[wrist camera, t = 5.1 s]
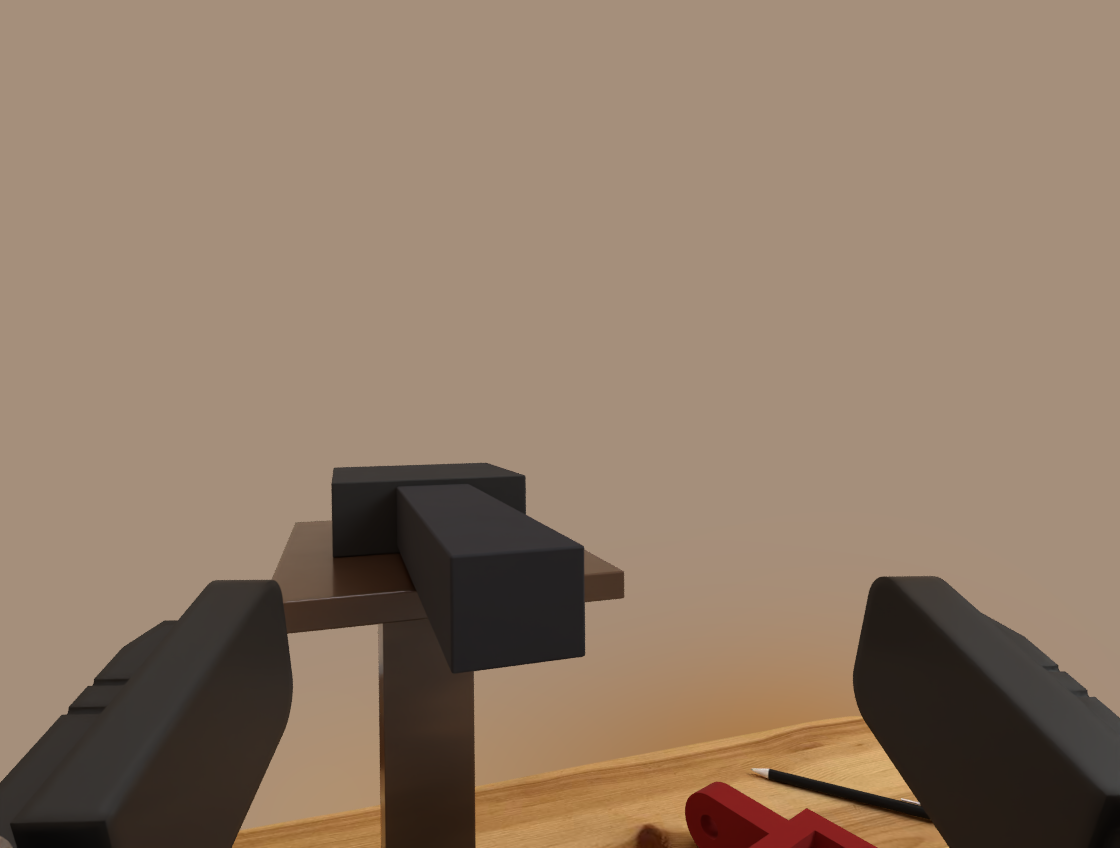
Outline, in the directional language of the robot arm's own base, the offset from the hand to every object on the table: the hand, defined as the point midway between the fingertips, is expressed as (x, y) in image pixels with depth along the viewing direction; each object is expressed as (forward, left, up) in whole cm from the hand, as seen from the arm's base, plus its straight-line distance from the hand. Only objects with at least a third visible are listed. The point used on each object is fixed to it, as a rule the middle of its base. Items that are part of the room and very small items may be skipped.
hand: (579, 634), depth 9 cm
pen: (-41, -39, -33) cm, 65 cm away
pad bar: (-1, -16, -3) cm, 16 cm away
